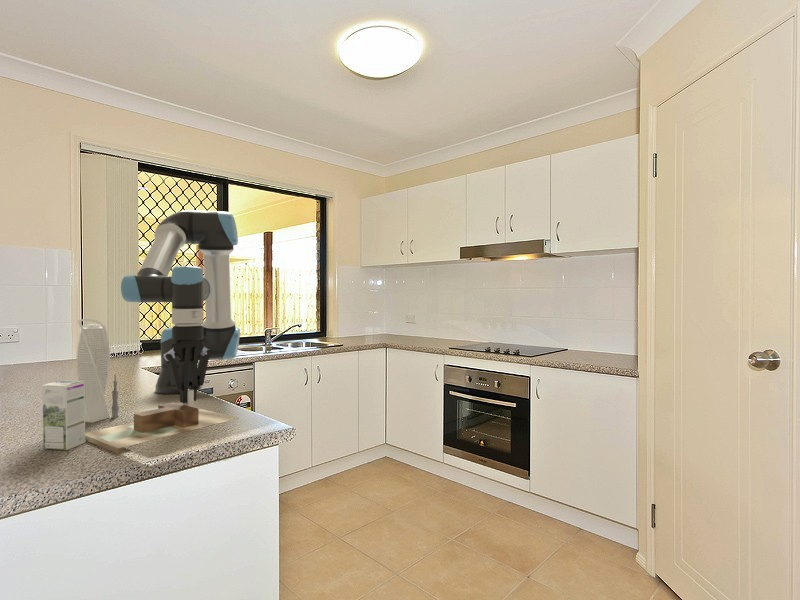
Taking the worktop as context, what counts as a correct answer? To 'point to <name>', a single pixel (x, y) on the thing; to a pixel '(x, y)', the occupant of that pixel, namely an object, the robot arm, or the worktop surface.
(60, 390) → the syrup box
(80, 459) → the worktop surface
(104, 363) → the skyscraper
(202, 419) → the board
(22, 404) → the worktop surface
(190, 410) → the t block
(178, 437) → the worktop surface
